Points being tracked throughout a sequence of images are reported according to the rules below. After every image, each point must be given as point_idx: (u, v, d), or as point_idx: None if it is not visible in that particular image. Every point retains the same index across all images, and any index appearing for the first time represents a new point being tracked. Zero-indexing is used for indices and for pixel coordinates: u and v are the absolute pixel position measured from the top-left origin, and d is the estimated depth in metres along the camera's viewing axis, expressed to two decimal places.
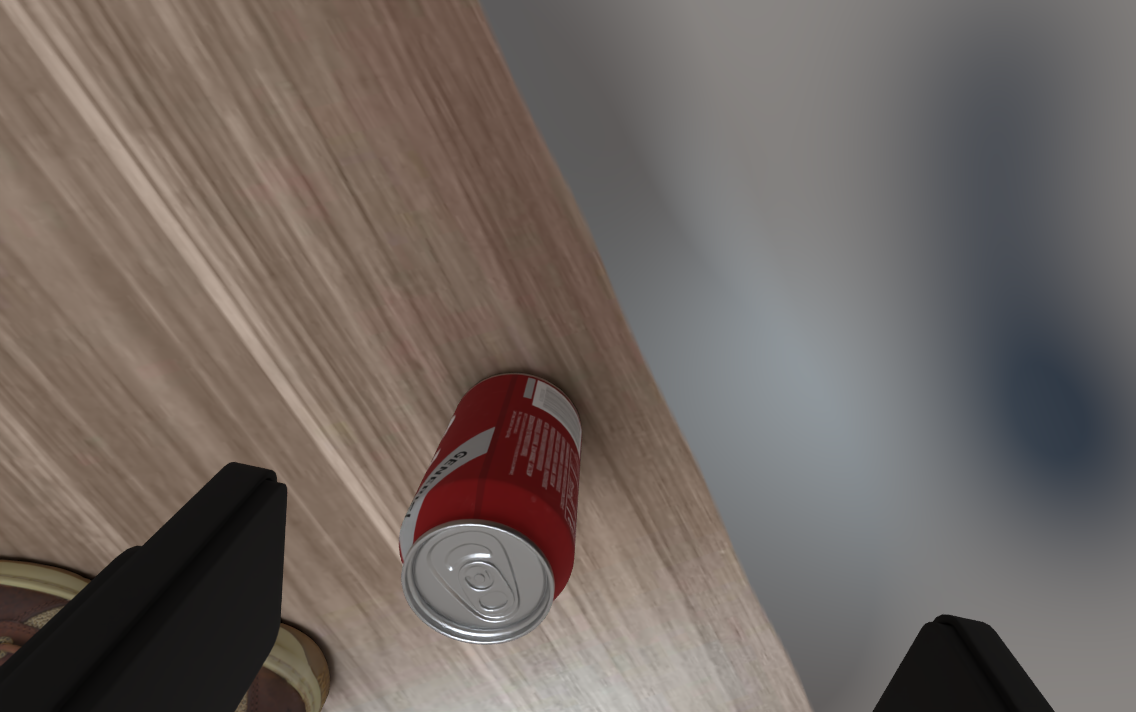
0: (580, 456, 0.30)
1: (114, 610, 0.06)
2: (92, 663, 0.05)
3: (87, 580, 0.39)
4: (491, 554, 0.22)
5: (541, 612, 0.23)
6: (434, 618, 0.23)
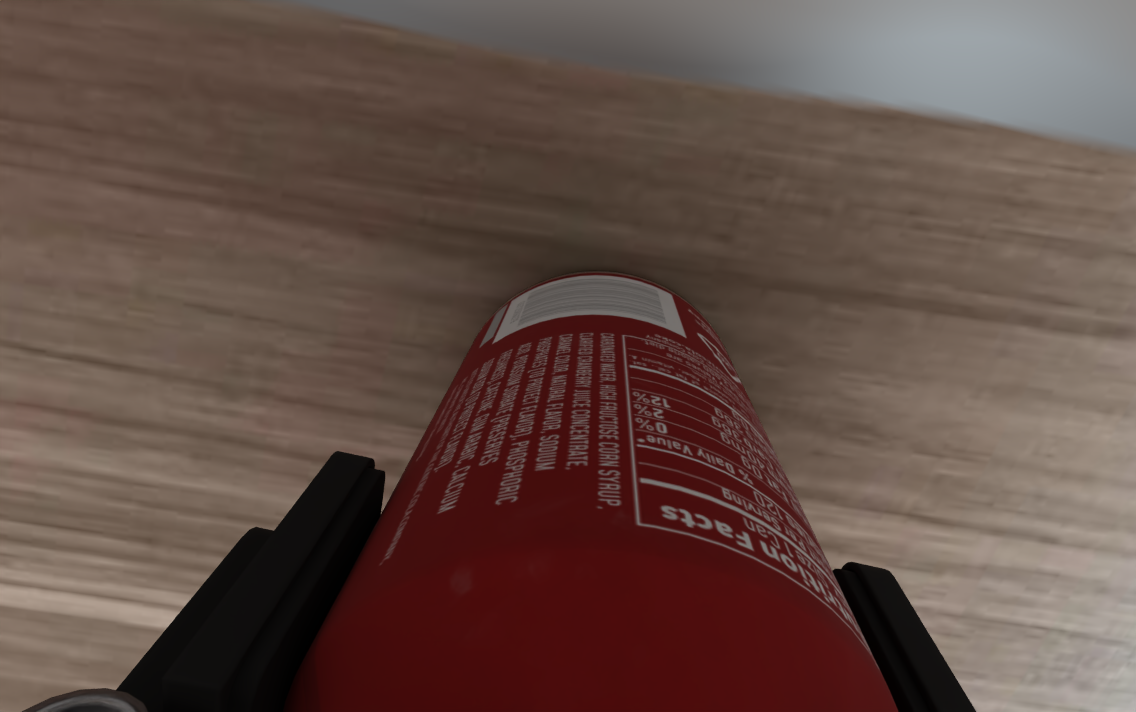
0: (691, 330, 0.12)
1: (269, 579, 0.06)
2: (262, 624, 0.06)
3: None
4: None
5: None
6: None
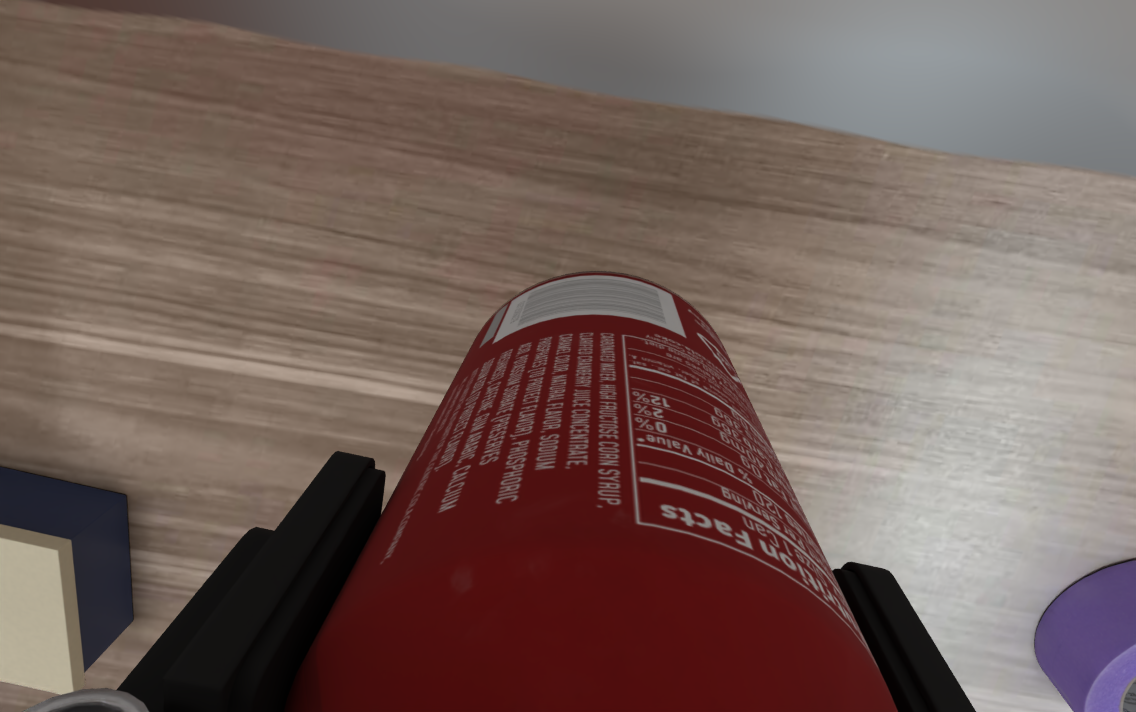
0: (691, 330, 0.12)
1: (270, 579, 0.06)
2: (262, 624, 0.06)
3: None
4: None
5: None
6: None
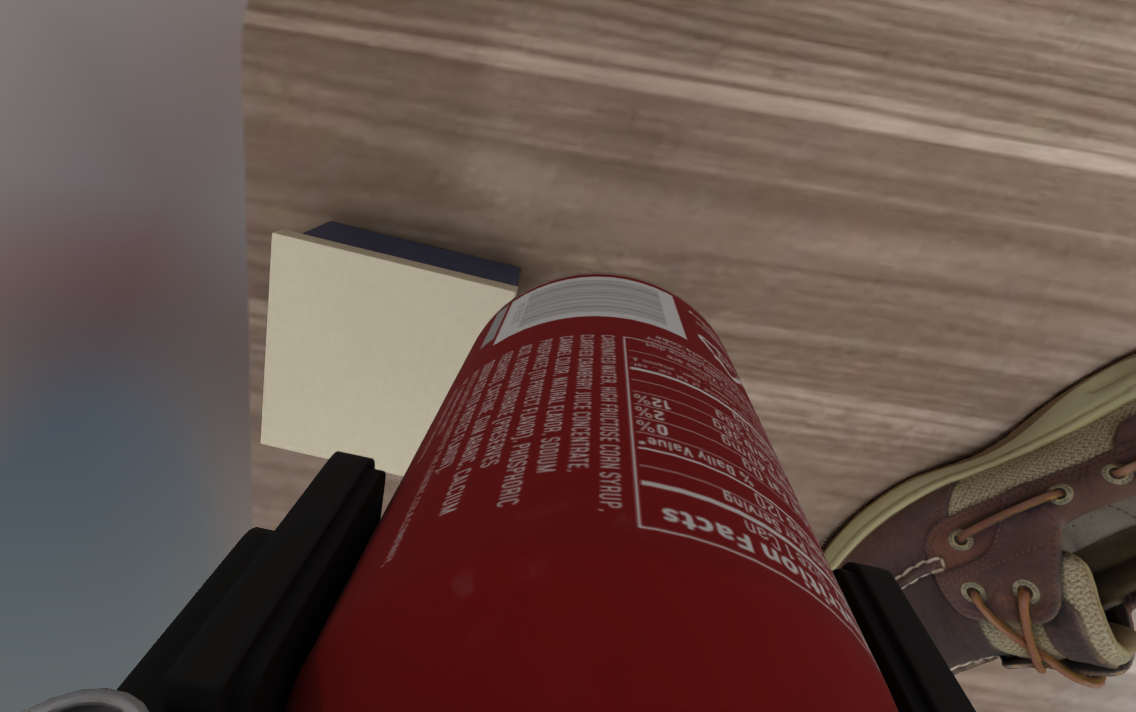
0: (691, 332, 0.12)
1: (270, 579, 0.06)
2: (263, 625, 0.06)
3: (935, 469, 0.39)
4: None
5: None
6: None
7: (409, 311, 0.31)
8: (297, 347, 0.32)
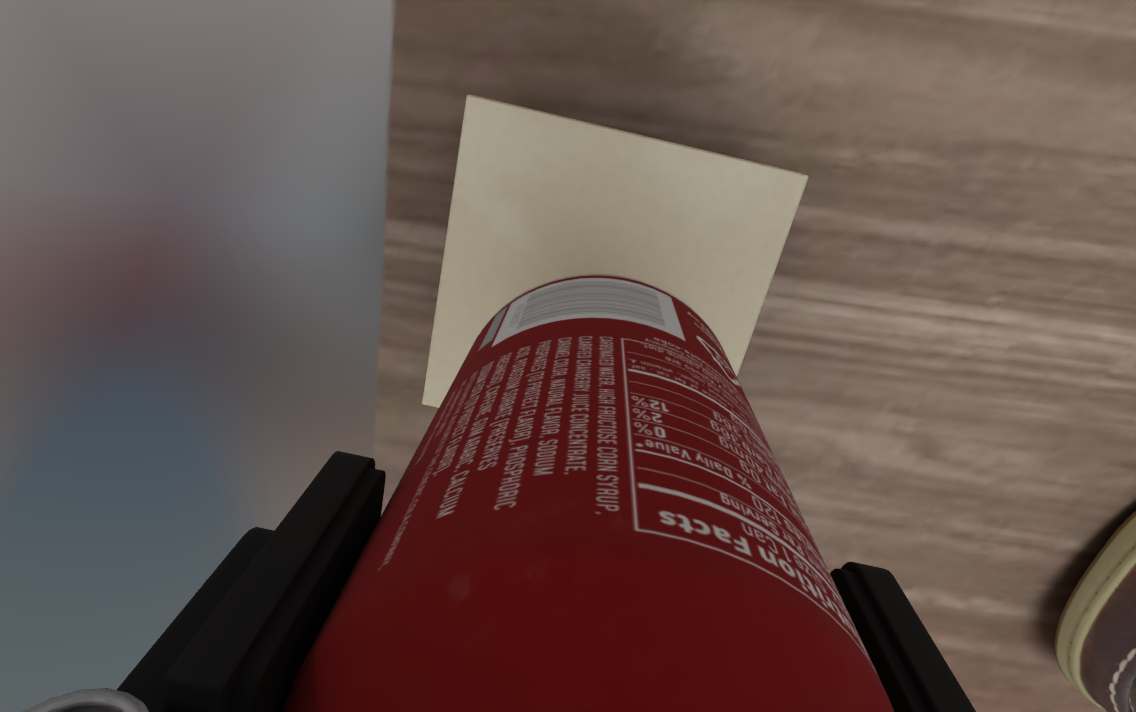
0: (690, 333, 0.12)
1: (270, 579, 0.06)
2: (263, 624, 0.06)
3: None
4: None
5: None
6: None
7: (651, 209, 0.22)
8: (486, 266, 0.23)
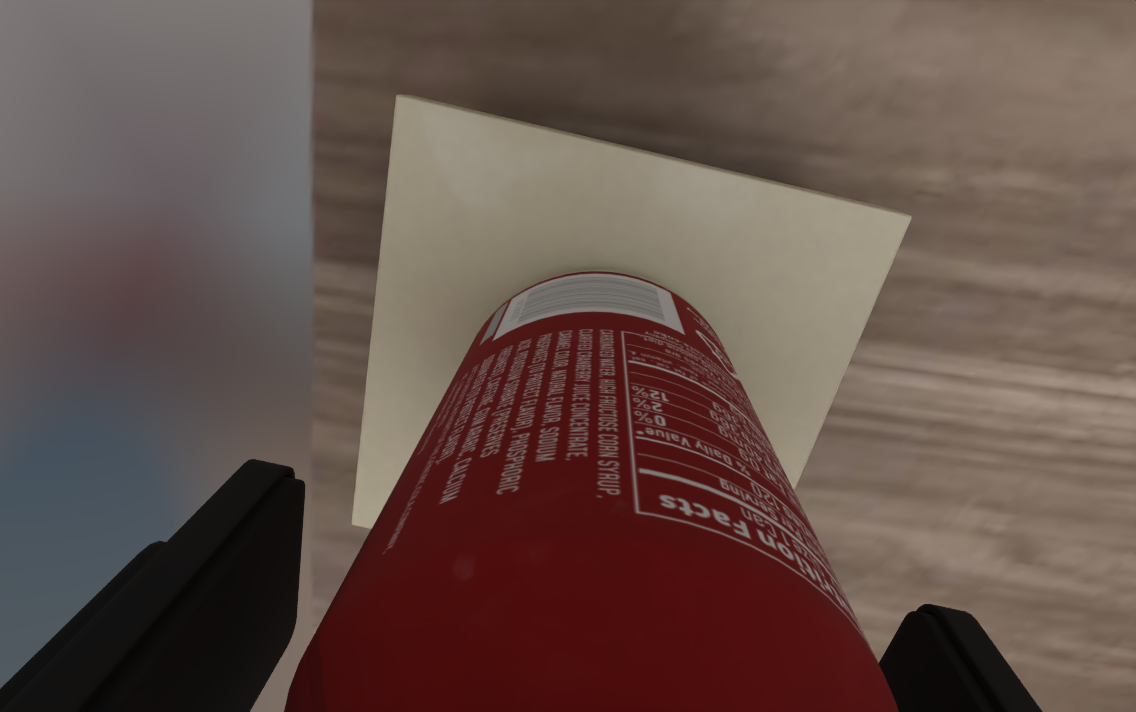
0: (689, 327, 0.12)
1: (143, 602, 0.06)
2: (124, 655, 0.05)
3: None
4: None
5: None
6: None
7: (674, 263, 0.15)
8: (434, 342, 0.16)
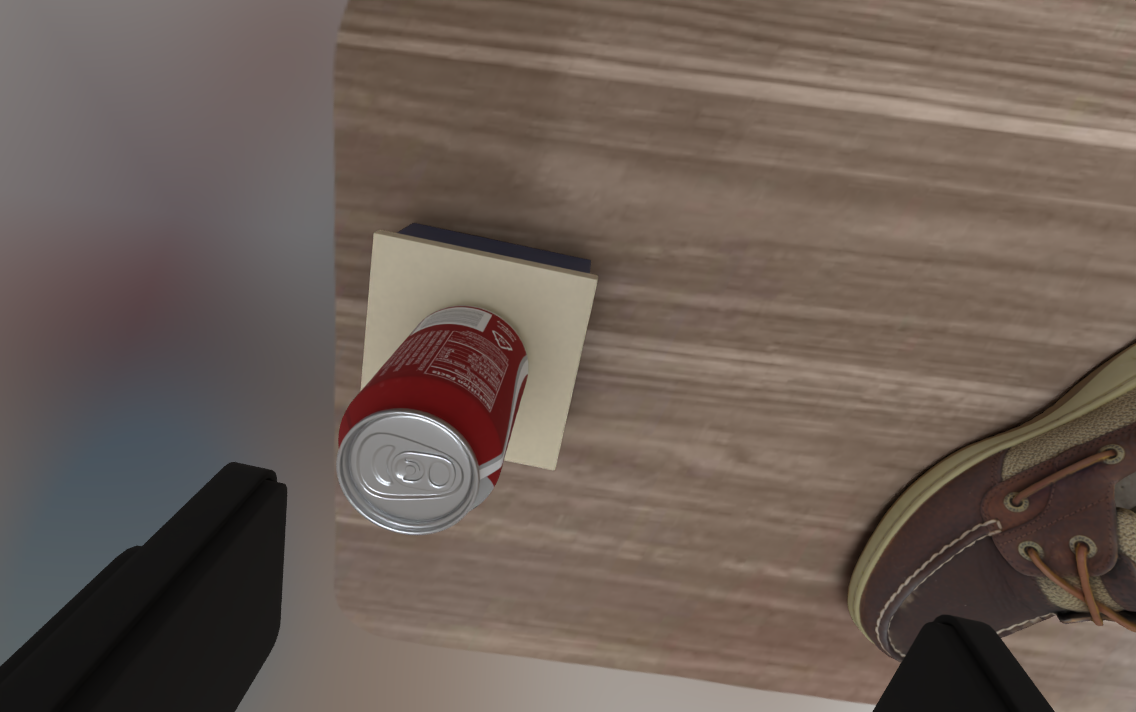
0: (489, 329, 0.31)
1: (114, 610, 0.06)
2: (92, 664, 0.05)
3: (985, 439, 0.41)
4: (393, 447, 0.24)
5: (469, 447, 0.24)
6: (431, 526, 0.25)
7: (498, 301, 0.34)
8: (394, 338, 0.35)
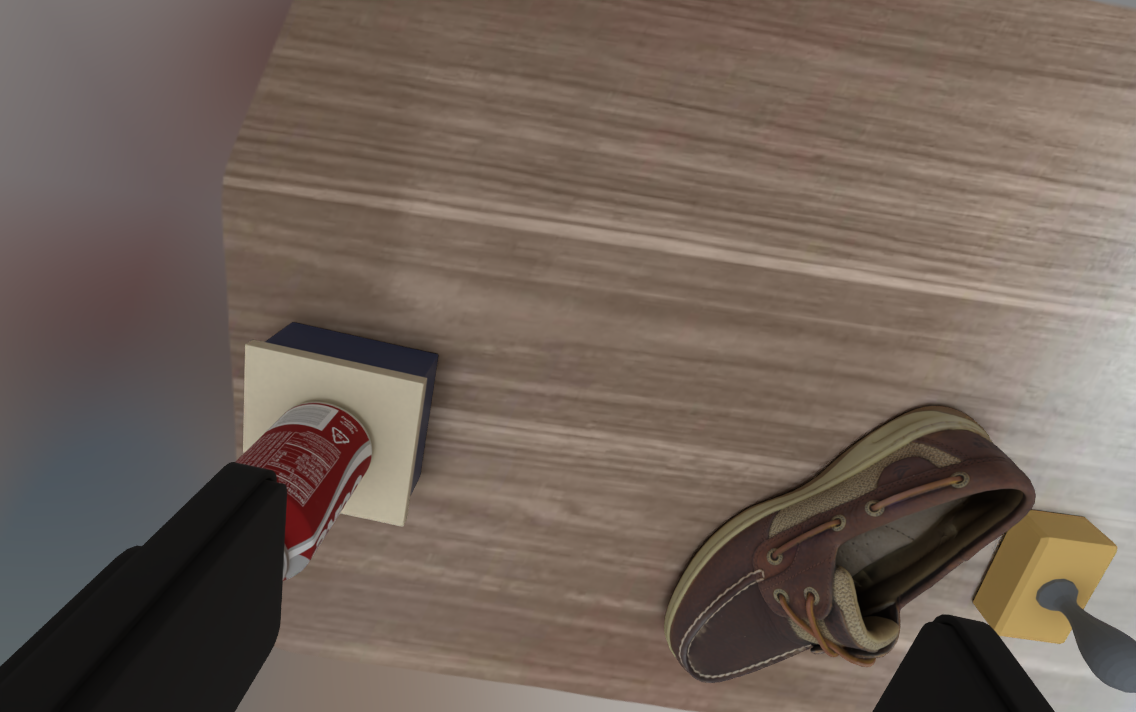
0: (329, 427, 0.40)
1: (114, 610, 0.06)
2: (91, 665, 0.05)
3: (767, 500, 0.50)
4: None
5: None
6: None
7: (347, 397, 0.42)
8: (266, 423, 0.43)
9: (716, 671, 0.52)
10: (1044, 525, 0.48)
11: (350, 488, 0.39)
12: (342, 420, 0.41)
